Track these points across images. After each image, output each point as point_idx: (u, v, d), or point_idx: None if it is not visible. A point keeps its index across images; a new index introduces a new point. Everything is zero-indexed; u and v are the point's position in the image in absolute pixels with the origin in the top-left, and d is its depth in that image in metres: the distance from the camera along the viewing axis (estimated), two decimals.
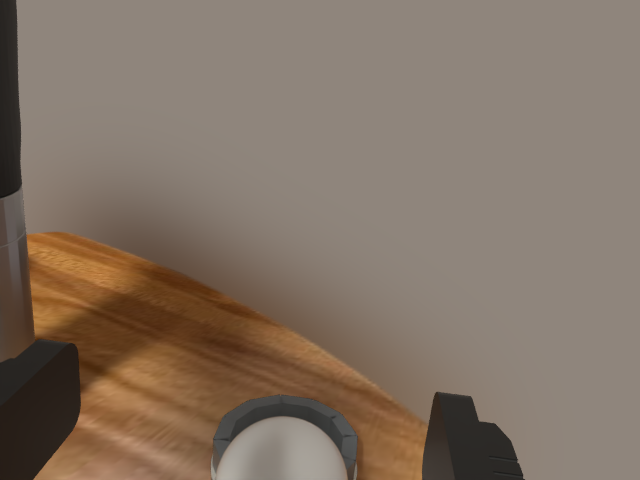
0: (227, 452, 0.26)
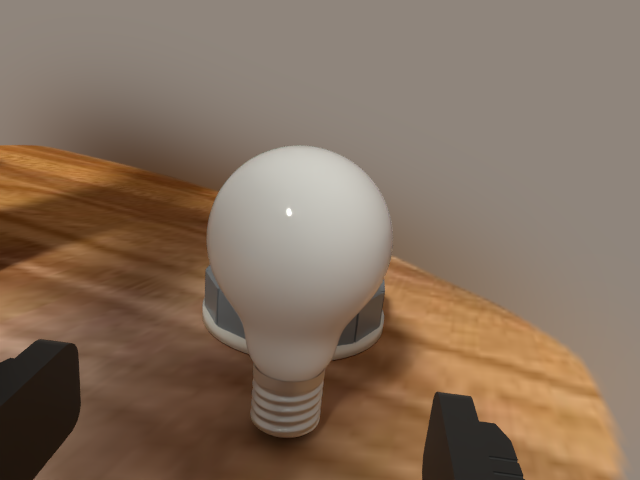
0: (225, 182, 0.19)
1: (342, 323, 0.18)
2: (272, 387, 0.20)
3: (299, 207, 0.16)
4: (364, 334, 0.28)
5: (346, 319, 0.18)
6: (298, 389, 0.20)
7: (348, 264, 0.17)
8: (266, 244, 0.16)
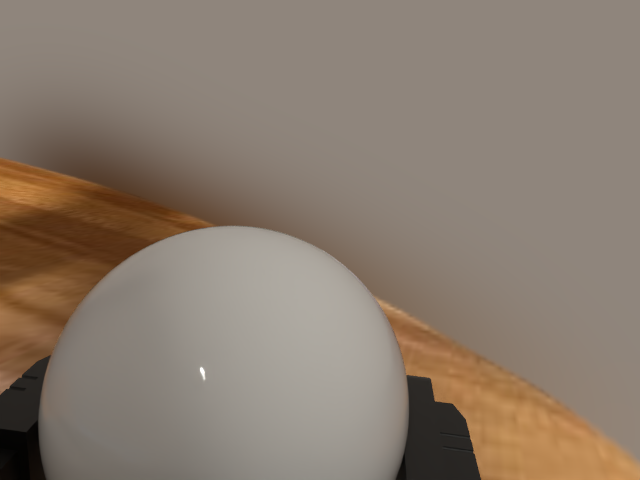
0: None
1: None
2: None
3: (203, 398, 0.07)
4: None
5: None
6: None
7: None
8: None
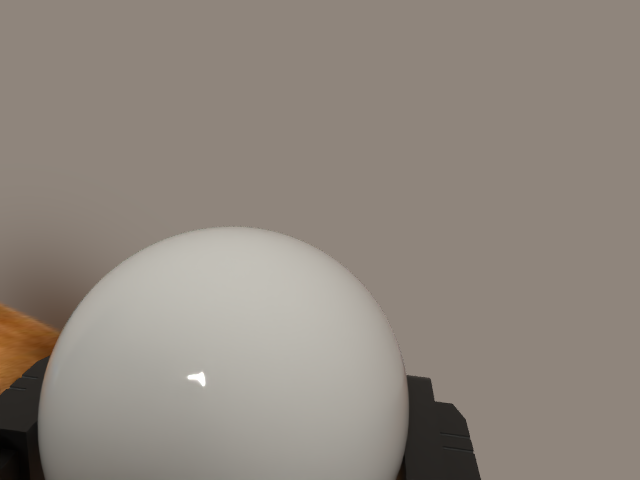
0: None
1: None
2: None
3: (202, 399, 0.07)
4: None
5: None
6: None
7: None
8: None
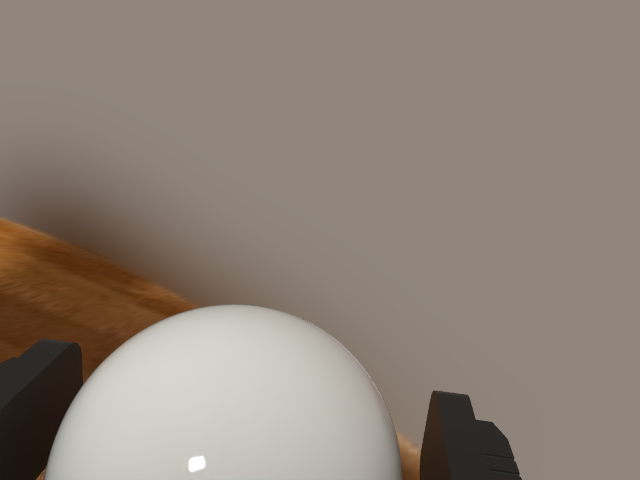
0: (83, 385, 0.10)
1: None
2: None
3: None
4: None
5: None
6: None
7: None
8: None
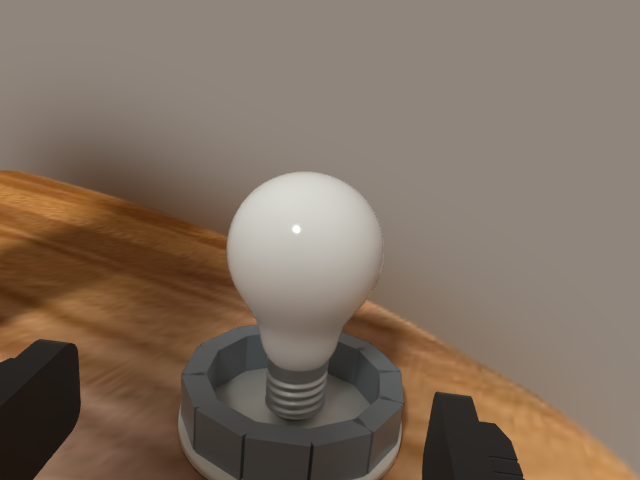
0: (241, 204, 0.22)
1: (342, 321, 0.22)
2: (284, 376, 0.23)
3: (304, 226, 0.20)
4: (379, 460, 0.23)
5: (345, 317, 0.22)
6: (306, 378, 0.23)
7: (345, 272, 0.20)
8: (278, 257, 0.20)
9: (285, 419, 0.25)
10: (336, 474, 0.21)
